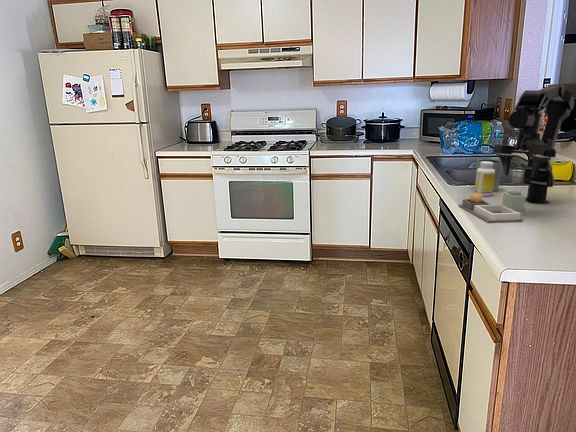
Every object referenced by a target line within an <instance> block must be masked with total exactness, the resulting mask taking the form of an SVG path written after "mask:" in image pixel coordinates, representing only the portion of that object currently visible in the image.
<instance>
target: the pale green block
mask: <svg viewBox="0 0 576 432" xmlns="http://www.w3.org/2000/svg"><path fill="white" fill-rule="evenodd" d="M526 197H527V195H523V194H522V192H520V191H517V190H510V191H507V192H503V193H502V201H501V205H503V206H505V207H507V208H510V209H512V210H514V211H524V209H525V202H526V200H525V198H526Z"/></svg>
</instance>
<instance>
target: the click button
mask: <svg viewBox="0 0 576 432" xmlns="http://www.w3.org/2000/svg"><path fill="white" fill-rule="evenodd" d="M483 197H484V196H483V195H482V194H479V193H474V192H471V193H469V199H470V200H469V202H471V203H482V200H483Z"/></svg>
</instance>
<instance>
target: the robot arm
mask: <svg viewBox="0 0 576 432" xmlns="http://www.w3.org/2000/svg"><path fill="white" fill-rule="evenodd" d="M574 107H575V99H574V95H573V93H571V92H570V91H569V90H568V89H567V88H566V85H565V84H560V83H559V84H557V83H556V84H554V83H553V84H549V85H547V86H545V87H543V88H540V89H538V90H527V89H526V90H525V91H524V92H522V94H521V95H520V97H519V99H518V101H517V103H516V105H515V107H514V111H513V112H512V113H511V114H510V116H509V117H508V124H509V126H510V127H511V128H513V129H518V131H516V132H515V136H517V137H516V141H515V143H514V144H513V145H508V144H500V143H499V144H495V146H493V150H492V153H495V155H496V156H498V158H499V160H501V163H502V166H503V169H502V170H503V173H504V175H505V176H507V177H508V176H509V173H510V169H511V160H513V157H514V155H512V154H526V155H527V154H528V155H533V156H532V158H530V159H529V160H528V162H527V167H526V168H525V170H524V172H523V185H528V188H527V193H526V198H525V201H527V202H530V203H531V204H541V203H542V204H544V203H549V204H550V201H549V200H547V196H548V188H553V187H554V184H555V183H554V182H555V177H554V173H553V164H552V163H551V160H552V158H556V156H557V151H556V148H555V145H556V141H557V138H558V136H559V132H560V129H561V125H562V123H563V122H564V121H565V120H566V119H567V118H568V117H570V115H571V111H572V110H573V109H574ZM543 110H544V111H545V114H546V116H547V120H546V123H545V126H544V130H543V132H542V136H541V134H540V133H539V129H540V124H541V123H540V122H541V119H542V118H541V117H542V116H543V114H542V112H543Z"/></svg>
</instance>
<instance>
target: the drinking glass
mask: <svg viewBox="0 0 576 432" xmlns="http://www.w3.org/2000/svg"><path fill="white" fill-rule="evenodd" d="M482 161H488V162H493V163H494V164H493V167H492V168H493V169H494V170H495V178H494V186H493V191H495V192H498V191H499V187H500V182H501V181H500V180H501V177H502V172H503V170H504V169H503V166H502V163H501V160H500V159H496V158H495V159H494V158H480V159H477V161H476V170H477V169H479V168H480V167H481V166H480V163H481V162H482Z"/></svg>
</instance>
